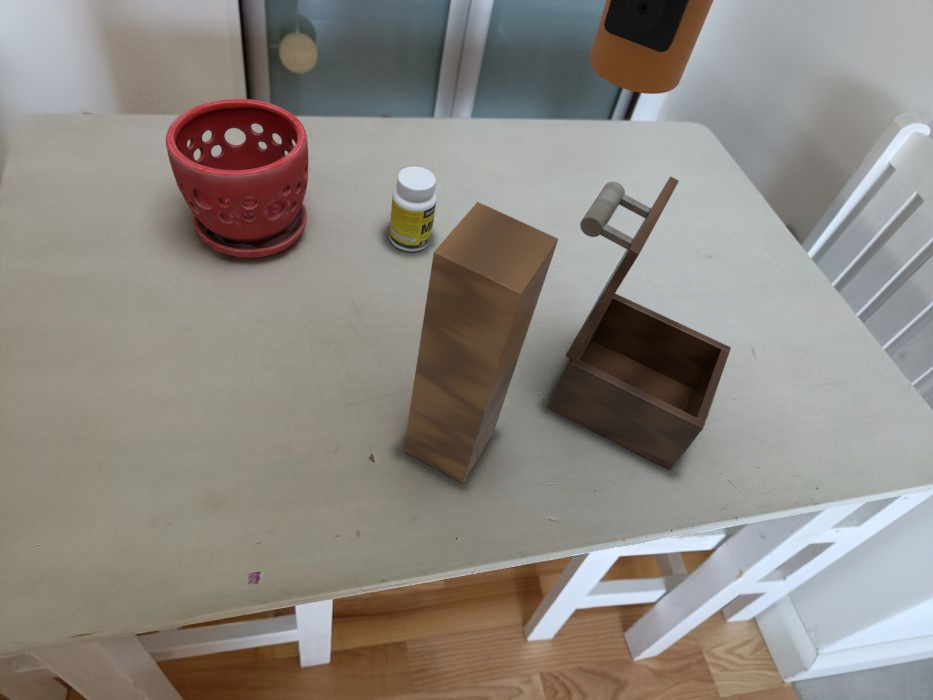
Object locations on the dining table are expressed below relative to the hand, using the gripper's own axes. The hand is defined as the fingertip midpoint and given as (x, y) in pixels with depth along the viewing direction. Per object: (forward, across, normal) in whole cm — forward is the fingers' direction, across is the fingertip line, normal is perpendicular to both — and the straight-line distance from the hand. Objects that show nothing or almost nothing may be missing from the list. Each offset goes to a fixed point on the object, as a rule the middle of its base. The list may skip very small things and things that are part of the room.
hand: (654, 13), depth 33 cm
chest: (+39, +10, -9) cm, 41 cm away
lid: (+24, +10, -3) cm, 27 cm away
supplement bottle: (+39, +18, +20) cm, 47 cm away
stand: (+39, -3, +4) cm, 39 cm away
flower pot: (+39, +9, +35) cm, 53 cm away
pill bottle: (+3, 0, 0) cm, 3 cm away
